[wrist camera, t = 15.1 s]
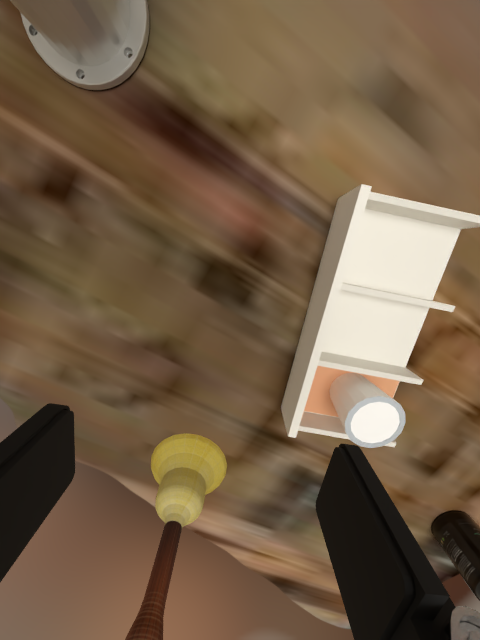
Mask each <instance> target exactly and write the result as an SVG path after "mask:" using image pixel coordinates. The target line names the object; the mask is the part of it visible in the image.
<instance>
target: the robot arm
mask: <svg viewBox="0 0 480 640" xmlns="http://www.w3.org/2000/svg"><path fill="white" fill-rule="evenodd" d="M10 1H11V2H12V4H13V5H14V6H15V7H16V8H17V9H18V10H19V11H20V14H21V18H22V22H23V25H24V27H25V30H26V32H27V35H28V37H29V39H30V41H31V43H32V44H33V46H34V48H35V50H36V51H37V53H38V54H39V55H40V56H41V58H42V59H43V60H44V61H45V63H46V64H47V65H48V66H49V67H51V68H52V69H53V70H54V71H55V72H56V73H57V74H58V75H59V76H61V77H62V78H63V79H65V80H66V81H68V82H69V83H71V84H73V85H75V86H77V87H81V88H84V89H88V90H103V89H109V88H112V87H114V86H116V85H119V84H121V83H122V82H123V81H125V80H126V79H127V78H129V77H130V75H131V74H132V73H133V72H134V71H135V70H136V68H137V67H138V65H139V63H140V61H141V59H142V58H143V55H144V52H145V49H146V46H147V42H148V35H149V9H148V2H147V0H10ZM74 473H75V446H74V413H73V411H70V408H69V407H68V406H65V405H58V404H51V403H50V404H47V405H46V406H44V407H43V408H42V409H41V410H39V411H38V412H37V413H36V414H35V415H33V416H32V417H31V418H30V419H28V420H27V421H26V422H25V423H24V424H22V425H21V426H20V427H19V428H18V429H16V430H15V431H14V432H13V433H12V434H11V435H9V436H8V437H7V438H6V439H4V440H3V441H2V442H1V443H0V582H1V581H2V579H3V578H4V576H5V575H6V573H7V572H8V571H9V569H10V568H11V566H12V565H13V564H14V562H15V561H16V559H17V558H18V557H19V555H20V554H21V552H22V551H23V549H24V548H25V547H26V545H27V544H28V542H29V541H30V539H31V538H32V537H33V535H34V534H35V532H36V531H37V530H38V528H39V527H40V525H41V524H42V522H43V521H44V520H45V518H46V517H47V515H48V514H49V513H50V511H51V510H52V508H53V507H54V506H55V504H56V503H57V501H58V500H59V498H60V497H61V496H62V494H63V493H64V491H65V490H66V489H67V487H68V486H69V484H70V483H71V481H72V479H73V477H74ZM316 511H317V515H318V519H319V522H320V525H321V529H322V532H323V536H324V539H325V542H326V546H327V549H328V552H329V556H330V559H331V563H332V566H333V569H334V573H335V576H336V579H337V583H338V586H339V589H340V593H341V596H342V600H343V603H344V606H345V610H346V613H347V616H348V620H349V623H350V627H351V630H352V633H353V637H354V640H480V613H479V612H478V611H476V610H474V609H471V608H469V607H466V606H463V607H462V606H460V607H455V606H454V604H453V602H452V601H451V599H450V598H449V594H448V593H447V591H446V589H445V588H444V586H443V584H442V583H441V581H440V579H439V578H438V576H437V574H436V573H435V571H434V569H433V568H432V566H431V564H430V563H429V561H428V559H427V558H426V556H425V555H424V553H423V551H422V550H421V548H420V546H419V545H418V543H417V541H416V540H415V538H414V536H413V535H412V533H411V531H410V530H409V528H408V526H407V525H406V523H405V522H404V520H403V518H402V517H401V515H400V513H399V512H398V510H397V508H396V507H395V505H394V503H393V502H392V500H391V498H390V497H389V495H388V493H387V492H386V490H385V488H384V487H383V485H382V484H381V482H380V480H379V479H378V477H377V475H376V474H375V472H374V470H373V469H372V467H371V465H370V464H369V462H368V460H367V459H366V457H365V455H364V454H363V452H362V451H361V449H360V448H359V447H358V446H355V445H348V444H340V445H339V447H336V448H335V449H334V452H333V455H332V457H331V460H330V463H329V466H328V469H327V472H326V474H325V477H324V480H323V483H322V486H321V489H320V491H319V494H318V497H317V500H316Z"/></svg>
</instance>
